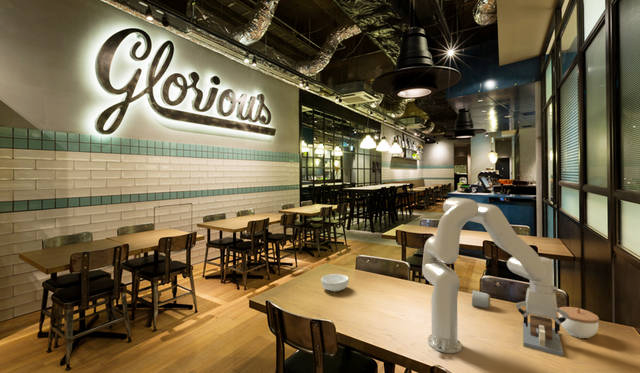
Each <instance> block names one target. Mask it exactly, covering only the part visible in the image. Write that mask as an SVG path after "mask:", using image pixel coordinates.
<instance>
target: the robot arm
mask: <svg viewBox="0 0 640 373" xmlns="http://www.w3.org/2000/svg"><path fill="white" fill-rule="evenodd" d="M442 210H443V212H444V214H443V215H442V216H441V218H440V220H439V221H438V225H437V230H436V235H432V236H430V237H429V238H428V239H427V240H426V241H425V244H424V247H423V253H422V255H423V257H422V266H421V267H422V268H421V269H422V270H421V271H422V275H423V277H424V278H425V280H427V281H428V283H430V284H432V286H433V290H432V293H431V301H430V303H431V334H430V335H429V336H428V337H427V343H428V345H429V346H430V347H431V348H432V349H433V350H435V351H438V352H440V353H441V352H442V353H443V354H444V353H445V354H457V353H459V352H461V351H462V349H463V345H462V342H461V341H460V340H459V339H458V295H459V290H460V283H461V282H460V278H459V276H458V273H457V272H456V271H455V270H454V269H453V268H451V267H449V266H447V265H451V264H454V263H456V261H457V260H458V257H459V251H460V239H461V238H460V237H461V232H462V229H463V227H464V226H465V224H467V222H473V223H478V224H481V225H482V226H483V227H484V229H485V231H486V232H487V233H488V235H489V236H490V238H491V239H492V241H493V243H494V244H495V245H496V246H497V247H498V248H500V249H501V250H503V251H504V252H506V253H508V254H509V255H511V257H510V258H508V260H506V261H507V262H506V266H507V268H508V270H510V272H512V273H513V274H515V275H518V276H520V277H523V278H525V279H527V280H529V287H527V290H526V293H525V300H524V301H519V302H516V303H515V307H516V309H517V310H518V312H519V314H521V316H522V317H523V322H524V323H525V324H526V327H528V323H529V322H528V321H529V320H528V319H529V318H528V316H530V315H535V316H537V315H538V316H542V317H544V318H549V319H553V321H554V328H555V333H556V334H559V332H561V323H562V322H564V321H566V319H567V318H568V317H569V314H568V313H567V312H565V311H563V310H561V309H560V307H558V303H557V295H556V293H555V292H554V291H558V286H554V279H553V278H554V263H553V261H552V259H550V258H548V257H545V256H539V254H538V253H537V252H536V250H534V248H532V247H531V246H530V245H529V244H528V243H527V242H526V241H525V240H524V239H522V238H521V237H520V236H518V235H517V233H516V231H515V230H514V229H513V227H512V225H511V224H510V222H509V221H508V219H507V217H506V216H505V215H504V213H503V212H502V210H501V209H500V208H499V207H498V206H496V205H494V204H491V203H489V204H488V203H480V202H477V201H476V200H474V199H471V198H464V197H453V196H452V197H449V198H447V199H445V201H444V202H443V204H442ZM446 264H447V265H446ZM523 306H524V307H525V310H524V309H522V308H521V307H523ZM559 313H561V314H563V316H562V317H560V318H559V316H558V314H559Z"/></svg>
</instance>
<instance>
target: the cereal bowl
mask: <svg viewBox="0 0 640 373" xmlns="http://www.w3.org/2000/svg"><path fill="white" fill-rule="evenodd" d="M320 282H321V286H322V287H323V289H325V290H326V291H329V290H330V291H329V292H331V291H334V292H333V293H336V292H335V291H339V292H341V291H342V290H344V289H345V288H347V286H348V285H349V277H348V276H347V275H344V274H341V273H332V274H331V273H330V274H326V275H323V276H322V277H321V280H320ZM340 290H341V291H340Z"/></svg>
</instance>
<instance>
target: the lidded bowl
mask: <svg viewBox="0 0 640 373" xmlns="http://www.w3.org/2000/svg"><path fill="white" fill-rule="evenodd" d="M559 308H560V309H561V310H563V311H565V312H567V313H568V314H569V317H568V318H567V319H566V321H564V322H562V323H561V324H560V326H562V328H563V329H564V330H565V331H566V333H567V335H569V336H572V337H574V338H577V337H578V339H581V338H589V337H590V338H592V337H593V336H595V335H596V333H597V332H598V330H599V321H600V317H599V316H598V315H597V314H595V313H594V312H592V311H589V310H586V309H583V308H580V307H573V306H562V307H561V306H560V307H559ZM562 316H563V314H561V313H559V312H558V318H560V317H562ZM590 338H589V339H590Z"/></svg>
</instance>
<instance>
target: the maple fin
mask: <svg viewBox="0 0 640 373" xmlns="http://www.w3.org/2000/svg"><path fill="white" fill-rule="evenodd" d="M536 316H538V315H536ZM539 317H543V316H539ZM538 334H539V342H540V346H544V347H545V329H544V326H542V325H539V329H538Z"/></svg>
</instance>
